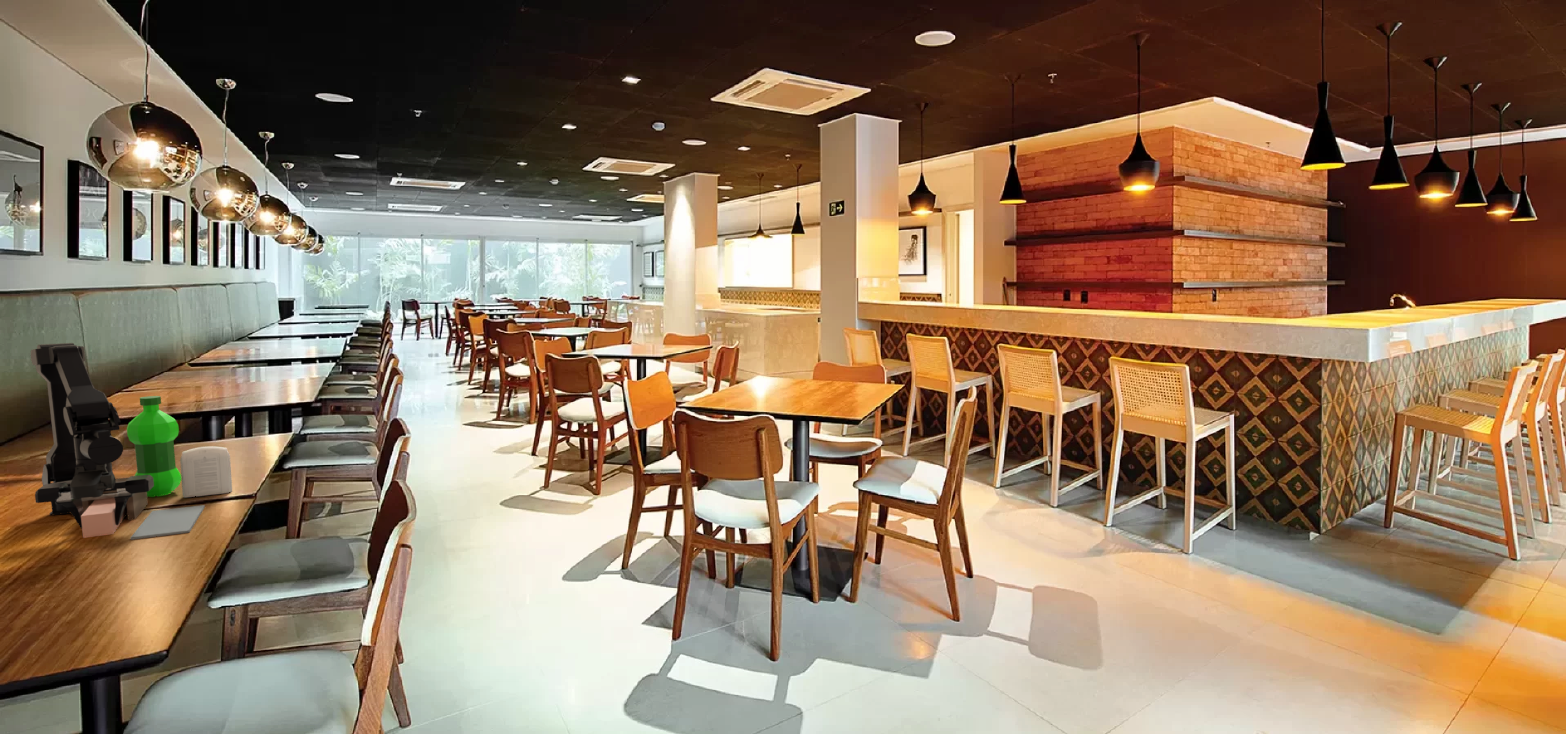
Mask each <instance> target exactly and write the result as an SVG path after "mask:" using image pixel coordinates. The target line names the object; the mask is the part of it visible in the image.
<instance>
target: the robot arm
mask: <svg viewBox="0 0 1566 734" xmlns="http://www.w3.org/2000/svg"><path fill="white" fill-rule="evenodd" d="M30 360H31V364H32V366H35V371H36V372H37V373H38V375H39V376H41V378H43V380H45V382H46V384H47V385H46V386H47V395H48V402H49V410H50V420H51V429H52V430H51V431H52V437H53V445H52V446H51V448H50V450H49V451H48V453H47V454H45V455H46V456H45V461H46V464H43V468H42V475H41V483H42V486H41V487H39V488H38V489H37V490H36V491H35V492H34V493H35V494H34V498H35V499H34V500H35V503H36V504H40V503H49V502H51V503H50V505H51V511H50V512H49V516H55V515H66V514H71V515H72V516H73V518H74V519H75V521H76V523H77V525H78V526H79V528H80V529H81V530H82V522H81V515H82V514H83V513H84V511H83V505H82V499H81V498H87V497H93V498H95V497H99V496H101V495H102V494H103V492H105V491H115V490H117V492H118V494H117V495H116V496H115V497H114V499H115V523H116V525H118V524H119V523H120V520H121V517H122V514H123V511H124V508H125V505H126V503H127V501H128V499H129V497H132V496H133V495H134V494H135V493H142V492H148V491H150V490H151V488H152V487H153V486H154V480H153V477H152V476H151V475H139V476H135V475H131V476H129V477H127V478H128V479H127V480H126V481H119V482H116V480H115V479H116V476H115V474H114V472H113V464H112V463H114V462H116V461H117V460H119V458H120V457H121V456H122V455H123V453H124V445H123V443H122V442H121V440H119V439H118V438H117V437H114V436H112V432H111V431H119V430H120V426H121V419H120V416H119V413H118V410H117V408H116V407H115V406H114V404H113V402H110V401H109V400H108V398H107V396H106V394H105V393H104V392H103V391H100V390H98V389H96V388H95V386H94V384H93V382H92V379H91V377H90V373H88V370H87V367H86V365H85V362H87V361H86V353H85V346H84V345H81V346H80V345H76V344H75V343H73V342H67V343H66V342H63V343H43V344H41V343H40V344H37V345H36V348H34V349H33V348H32V349H31V350H30ZM109 421H110V422H109Z"/></svg>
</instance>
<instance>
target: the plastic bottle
mask: <svg viewBox="0 0 1566 734" xmlns="http://www.w3.org/2000/svg"><path fill="white" fill-rule="evenodd" d="M161 397H162V396H160V395H150V396H149V395H148V396H141V397H139V405H140V406H142V408H143V409H142V411H141V412H140V413H139V414H137V415H136V416H135V417H134V418H133V419H131V421H129V422H128V424H127V426H126V434H127V437H128V441H129V442H131V443H133V444H134V452H135V460H136V461H135V462H136V472H135V474H134V476H139V475H151V476H152V477H153V480H154V486H153V487H152V488H151V490H150V491H148V492H147V498H148V497H150V498H156V497H155V496H157V497H162V496H167V495H171V494H172V492H174V491H175V490H176V489H177V488H178V487H179V486H180V485H181V483H182V479H181V471H179V469H178V467H176V456H175V444H174V443H175V442H174V440H175V439H176V438H177V437H178V436H179V432H180V430H179V429H180V428H179V424H178V422H177V420H176V419H175V418H174V417H172V416H171V415H169V414H168V413H166V412H164V411H162V410H160V406H159V405H162V398H161Z"/></svg>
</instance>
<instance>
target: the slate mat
mask: <svg viewBox="0 0 1566 734" xmlns="http://www.w3.org/2000/svg"><path fill="white" fill-rule="evenodd" d="M205 507H206V506H205V504H202V505H193V506H186V507H185V506H184V507H183V506H182V507H176V508H175V507H174V508H167V509H166V508H165V509H157V510H152V511H151V512H150V513H149V514H148V515H147V516H146V517H145V519H144V520H143V521H142V523H141V524H140V525H139V527H138V528H137V529H136V530H135V531H134V532H133V534H132V535H131V536H130V540H138V539H147V538H155V537H156V536H157V537H162V536H163V537H164V536H172V535H177V534H179V535H180V534H188V533H191V531H192V529H193V528H194V526H195V524H196V523H197V521H198V519H199V518H200V516H201V514H202V513H203V511H204V509H205Z"/></svg>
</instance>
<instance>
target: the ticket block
mask: <svg viewBox="0 0 1566 734" xmlns="http://www.w3.org/2000/svg"><path fill="white" fill-rule="evenodd" d="M126 514H127V515H128V513H127V503H126V505H125V508H124V511H123V514H122V517H121V520H120V523H121V524H122V522H123V521H124V519H125V517H126V516H127V515H126ZM122 520H123V521H122ZM81 522H82V529H81V530H82V538H83V539H84V538H91V537H99V536H100V537H101V536H106V535H107V536H109V535H114V534H115V533H116V531H117V530H118V528H119V527H120V525H121V524H120V523H119V524H118V525H116V523H115V499H114V498H108V499H98V500H94V501H93V503H92V504H91V505H90V506H89V507H88V508H87V510H86V511H85V512H84V513H83V514H82V515H81ZM117 527H118V528H117ZM116 529H117V530H116ZM114 532H115V533H114Z"/></svg>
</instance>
